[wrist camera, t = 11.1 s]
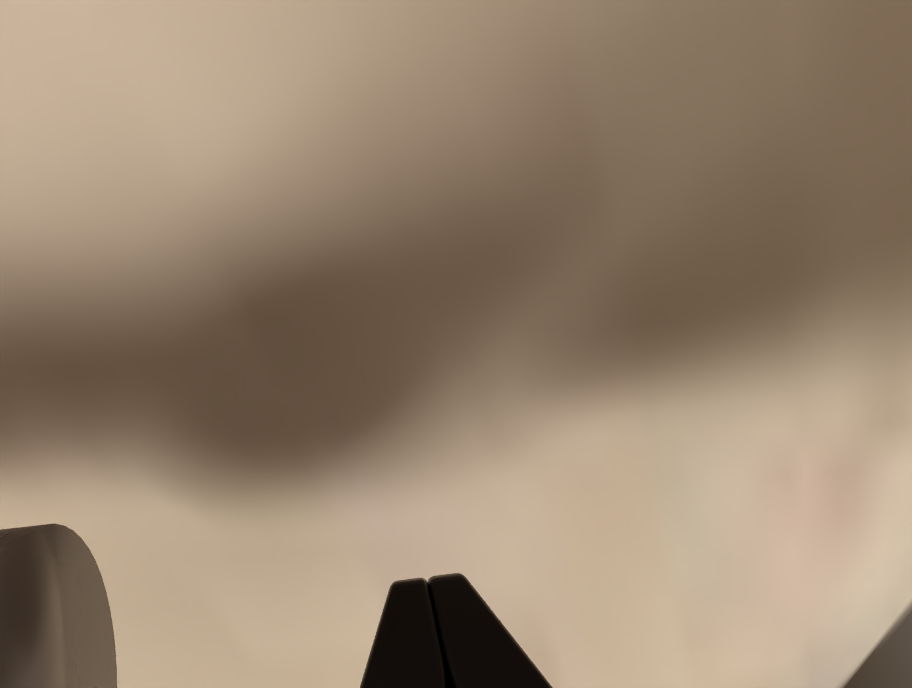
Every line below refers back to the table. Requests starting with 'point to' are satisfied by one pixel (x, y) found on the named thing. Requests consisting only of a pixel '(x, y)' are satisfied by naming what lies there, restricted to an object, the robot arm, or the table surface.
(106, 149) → the table surface
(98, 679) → the shaft
